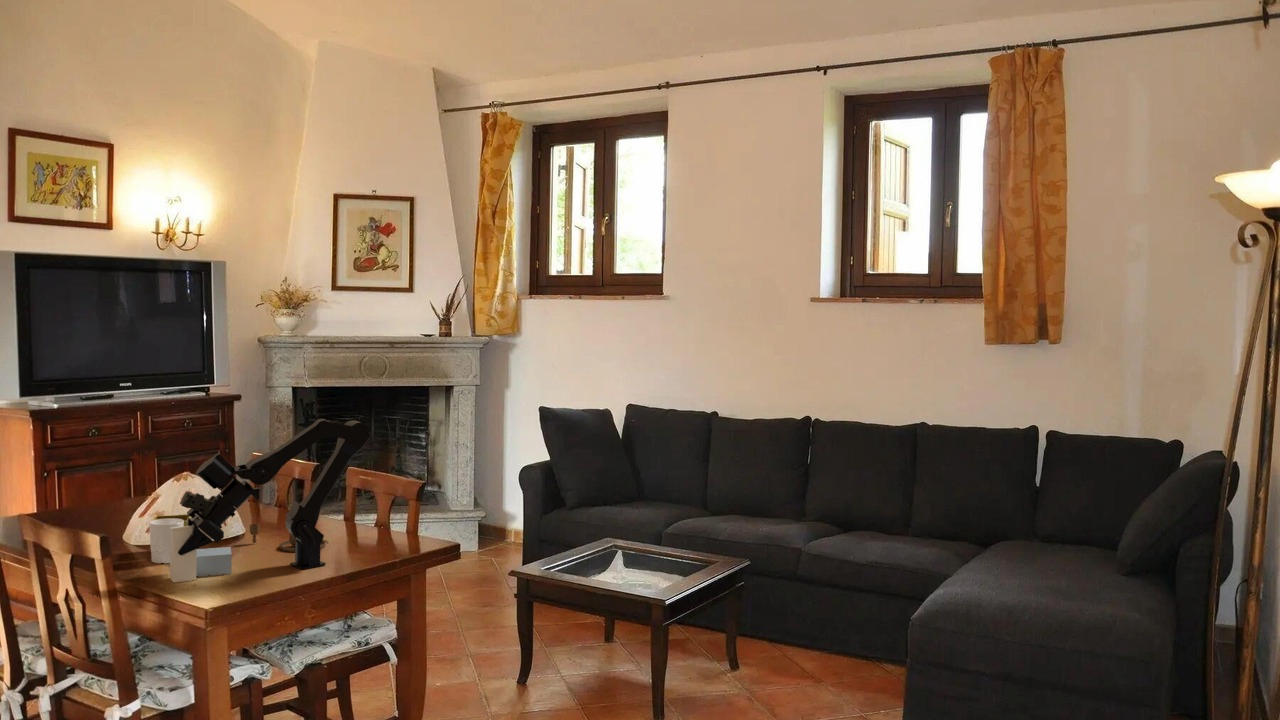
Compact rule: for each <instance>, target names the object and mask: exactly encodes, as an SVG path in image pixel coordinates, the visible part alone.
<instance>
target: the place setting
mask: <svg viewBox="0 0 1280 720" xmlns="http://www.w3.org/2000/svg"><path fill="white" fill-rule="evenodd" d="M249 534H250V535H252V544H253V543H256V544H257V535H258V534H260V524H259V523H250V524H249ZM288 534H289V536H288V537H289V540H288V539H287V540H285V541H282V542H279V545H278V546H279V549H280V550H281V549H282V550H281V551H283V550H284V551H283V552H286V551H290V552H289V553H295V546H296V540H297V539H295V537H294V535H293V534H292V533H291V532H290V531H289V533H288ZM328 543H329V541H328V540H326V539H323V540H322V543H321V545H320V550H323V549H324V548H325V547H326V545H327V544H328ZM288 544H291V545H290V546H293V547H287V546H289V545H288ZM284 545H287V546H285V547H283V546H284ZM322 548H323V549H322Z"/></svg>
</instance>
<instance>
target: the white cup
mask: <svg viewBox="0 0 1280 720" xmlns="http://www.w3.org/2000/svg"><path fill="white" fill-rule="evenodd" d="M148 525H149V526H148V527H149V544H150V552H151V553H150V554H151V555H150V558H151V562H152V563H153V562H154V564H161V563H164V564H170V528H172V527H183V526H184V520H182V519H176V518H167V519H158V520H151V521H149V524H148Z"/></svg>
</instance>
